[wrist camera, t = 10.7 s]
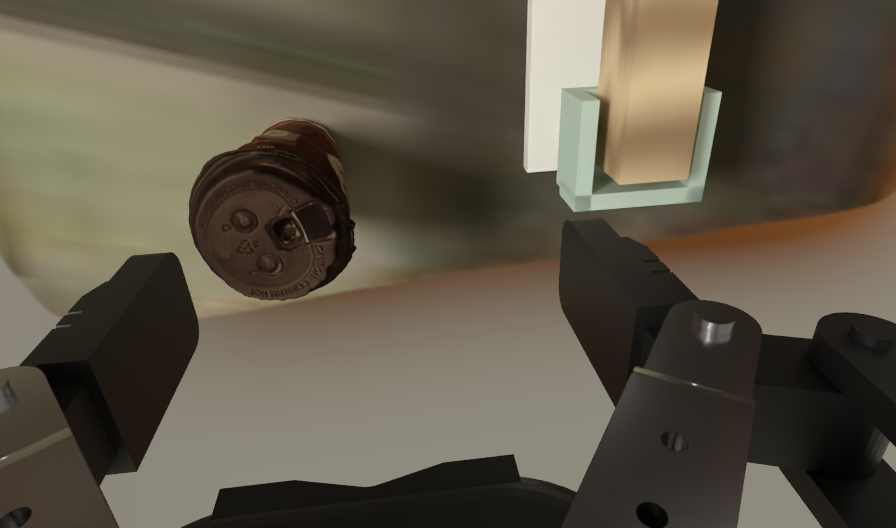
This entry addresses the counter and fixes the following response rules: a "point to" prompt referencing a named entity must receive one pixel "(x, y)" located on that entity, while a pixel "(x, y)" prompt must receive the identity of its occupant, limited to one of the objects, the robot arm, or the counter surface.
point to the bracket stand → (589, 112)
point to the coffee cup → (275, 213)
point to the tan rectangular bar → (651, 87)
